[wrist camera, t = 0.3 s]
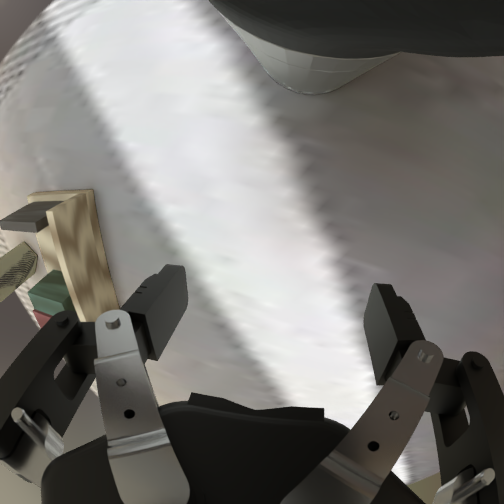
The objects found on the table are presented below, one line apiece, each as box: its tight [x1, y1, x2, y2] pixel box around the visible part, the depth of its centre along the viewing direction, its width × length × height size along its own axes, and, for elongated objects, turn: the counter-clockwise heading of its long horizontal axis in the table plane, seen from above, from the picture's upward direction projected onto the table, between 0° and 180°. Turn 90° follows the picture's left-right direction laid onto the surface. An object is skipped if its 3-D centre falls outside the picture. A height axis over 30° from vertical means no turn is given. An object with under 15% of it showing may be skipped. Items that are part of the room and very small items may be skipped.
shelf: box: [0, 190, 120, 328], centre depth 32 cm, size 21×13×8 cm, turn 179°
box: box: [0, 242, 37, 303], centre depth 32 cm, size 5×4×13 cm
